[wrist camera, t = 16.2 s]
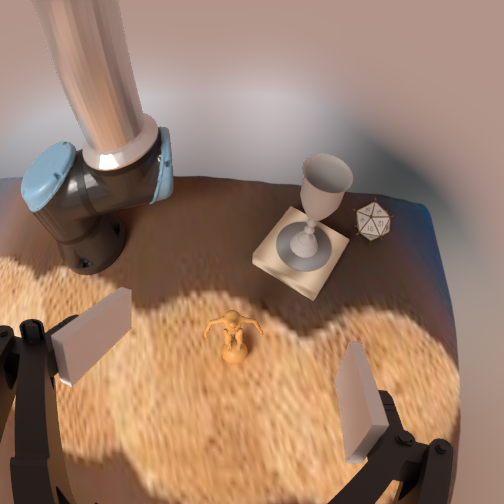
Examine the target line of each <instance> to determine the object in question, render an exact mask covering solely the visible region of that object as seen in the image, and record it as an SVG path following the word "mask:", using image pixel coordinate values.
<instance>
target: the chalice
mask: <svg viewBox="0 0 504 504" xmlns="http://www.w3.org/2000/svg"><path fill="white" fill-rule="evenodd" d="M302 169H303V174H304V179H303V184H302V188H301V193H300V195H301V200H302V205H303V208H304V210H305V213H306V215H307V217H308V218H309V219H308V220H307V224H308V225H306V226H305V228H304V230H305V231H301V232H299V233H297V234H296V235H294V236H293V237H292V239H291V241H290V247H291V249H292V251H293V252H294V253H295V254H296V255H298V256H299V257H303V258H307V257H311V256H313V255H314V254H315V253H316V252H317V249H318V244H317V240H316V237H315V236H314V235H313V233H314V231H315V229H314V227H315V226H316V224H317V223H316V221H320V220H322V219H324V218H326V217H328V216H329V215H330V214H332V213H333V212H334V211H335V210H336V209H338V207H339V205H340V202H341V200H342V198H343V195H344V193H345V191H346V190H347V189H349V188H350V187H351V185H352V183H353V175H352V172H351V170H350V168H349V167H348V165H347V164H346V163H344V162H343V161H342V160H340V159H339V158H337V157H335V156H332V155H328V154H316V155H312V156H310V157H309V158H307V159H306V160H305V162H304V163H303V168H302Z"/></svg>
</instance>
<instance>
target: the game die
mask: <svg viewBox="0 0 504 504" xmlns="http://www.w3.org/2000/svg"><path fill="white" fill-rule="evenodd" d="M376 201H377V199H376V197H375V199H374V202H372V203H371V204H369V205H365V206H364V207H363V208H361V209H359V210H356V209H353V211H355V212H356V220H357V225H355V226H354V227H357V228H358V231H359V232H357V234H356V235H359V234H362V235H363V236H364V237H366V238H367V239H369V240H370V245H371V244H372V240H375V239H377V238H379V237H380V239H381V240H382V236H383V235H385V234H387V233H390V234H392V232H391V231H390V219H391V218H393V217H394V216H393V215H391V216H390V215H389V214H388V213H387V212H388V211H389V209H386V210H385V209H384V208H383V207H381V206H380V205H379V204H378V203H377V202H376Z"/></svg>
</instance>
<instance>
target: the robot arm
mask: <svg viewBox="0 0 504 504" xmlns="http://www.w3.org/2000/svg"><path fill="white" fill-rule="evenodd" d="M32 2H33V5H34V9H35V12H36V16H37V19H38V22H39V25H40V28H41V31H42V34H43V37H44V40H45V43H46V46H47V48H48V52H49V54H50V57H51V60H52V62H53V65H54V67H55V70H56V73H57V75H58V77H59V80H60V82H61V85H62V87H63V89H64V92H65V95H66V97H67V99H68V101H69V104H70V106H71V108H72V111H73V113H74V115H75V117H76V119H77V121H78V124H79V125H80V128H81V130H82V132H83V134H84V136H85V138H86V141H85V143H84V146H83V149H81V150H79V151H76V148H75V147H74V146H73V145H72V144H71V143H67V142H60V143H57V144H55V145H53V146H51V147H49V148H48V149H46V150H45V151H44V152H42V153H41V154H40V155H39V156H38V157H37V158H36V159H35V161H33V163H32V164H31V165H30V167H29V168H28V170H27V172H26V173H25V175H24V178H23V180H22V184H21V193H22V196H23V198H24V200H25V202H26V203H27V205H28V207H29V209H30V210H31V211H32V212H33V214H34V215H35V216H36V217H37V219H38V220H39V221H40V222H41V223H42V225H43V226H44V227H45V228H46V229H47V230H48V232H49V233H50V234H51V235H52V236H53V237H54V238H55V240H56V241H57V244H58V248H59V251H60V254H61V257H62V259H63V261H64V262H65V263H66V265H67V266H68V267H69V268H70V269H71V270H72V271H74V272H76V273H78V274H81V275H91V274H95V273H98V272H101V271H103V270H104V269H106V268H107V267H109V266H110V265H111V264H112V263H113V262H114V261H115V260H116V259H117V257H118V256H119V255H120V253H121V251H122V249H123V246H124V243H125V238H126V232H125V227H124V225H123V223H122V221H121V219H120V218H119V216H118V215H117V214H116V213H115V212H116V211H120V210H124V209H129V208H133V207H138V206H142V205H147V204H153V203H154V202H156V201H160V200H163V199H167V198H168V197H170V196H171V194H172V193H173V186H174V185H173V168H172V155H171V143H170V134H169V130H168V128H166V127H158V126H157V124H156V122H155V120H154V119H153V118H152V117H151V116H149V115H147V114H144V113H143V112H142V108H141V104H140V100H139V96H138V92H137V88H136V84H135V80H134V75H133V71H132V67H131V62H130V58H129V53H128V49H127V44H126V39H125V34H124V29H123V24H122V18H121V13H120V7H119V2H118V0H32ZM131 294H132V290H130V289H126V288H123V287H120V288H119V289H117V290H116V291H114V292H113V293H111V294H110V295H108V296H107V297H106V298H104V299H103V300H101V301H100V302H98V303H97V304H95V305H94V306H92V307H91V308H89V309H88V310H87V311H85V312H84V313H82V314H81V315H77V314H76V315H73V316H70V317H68V318H66V319H65V320H63V321H62V322H60V323H59V324H58V325H56V326H55V327H53V328H52V329H50V330H49V331H47V332H46V333H45V332H44V326H43V323H42V322H41V321H39V320H36V319H28V320H25V321H23V322H22V323H21V324H20V326H19V327H20V332H21V336H22V338H20V337H16V336H14V332H13V329H12V328H11V327H10V326H5V325H2V326H0V442H1V438H2V435H3V431H4V428H5V425H6V422H7V418H8V415H9V412H10V409H11V406H12V404H13V401H14V398H15V395H16V401H15V457H11V459H10V471H11V482H12V491H13V498H14V504H76V502H75V499H74V497H73V495H72V492H71V489H70V485H69V481H68V477H67V472H66V467H65V462H64V457H63V451H62V445H61V438H60V431H59V422H58V413H57V401H56V385H55V378H54V375H56V374H57V373H59V377H60V381H62V382H64V383H65V384H67V385H69V386H71V387H72V386H73V385H74V384H75V383H76V382H77V381H78V380H79V379H80V378H81V377H82V376H83V375H84V374H85V373H86V372H87V371H88V370H89V369H90V368H91V367H92V366H93V365H94V364H95V363H96V362H97V361H98V360H99V359H100V358H101V357H102V356H103V355H104V354H105V353H106V352H107V351H108V350H109V349H111V348H112V347H113V346H114V345H115V344H116V343H117V342H118V341H119V340H120V339H121V338H122V337H123V336H124V335H125V334H126V333H127V332H128V331H129V330H130V329H131ZM335 385H336V391H337V397H338V404H339V411H340V418H341V425H342V433H343V441H344V449H345V458H346V463H362V462H363V461H364V459H365V458H366V457H367V458H368V462H367V463H366V464H365V465H364V466H363V468H362V469H361V470H360V471H359V472H358V473H357V474H356V475H355V476H354V477H353V479H352V480H351V481H350V482H349V483H348V484H347V485H346V486H345V487H344V488H343V489H342V490H341V491H340V492H339V493H338V494H337V495H336V496H335V497H334V498H333V499H332V500H331V501H330V502H329V503H327V504H375V503H376V501H377V500H378V499H379V498H380V496H381V495H382V494H383V492H384V491H385V490H386V488H387V487H388V486H389V484H390V483H391V481H392V480H396V481H400V483H399V487H398V490H397V493H396V495H395V498H394V501H393V504H447V499H448V493H449V486H450V479H451V471H452V461H453V447H452V446H451V444H450V443H449V442H448V441H446V440H444V439H439V438H438V439H434V440H433V441H432V442H431V443H430V444H429V445H427V444H423V443H418V442H415V438H414V437H413V435H412V434H411V433H409V432H408V431H405V430H403V427H402V424H401V421H400V418H399V415H398V412H397V411H396V407H395V406H394V405H395V404H394V401H393V399H392V397H391V396H390V394H389V393H388V392H387V391H383V390H378V389H377V386H376V383H375V380H374V377H373V374H372V371H371V368H370V365H369V363H368V360H367V357H366V354H365V351H364V349H363V346H362V343H356V342H349V344H348V347H347V349H346V352H345V354H344V357H343V359H342V362H341V364H340V367H339V369H338V371H337V374H336V376H335ZM95 504H98V503H95Z"/></svg>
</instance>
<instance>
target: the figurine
mask: <svg viewBox="0 0 504 504" xmlns="http://www.w3.org/2000/svg"><path fill="white" fill-rule="evenodd" d="M243 322H247V323H254V324H255V326H256V328H257V329H258V330H259V331H260V335H261V337H262V336H263V331H262V330H261V327H260V326H259V325H258V322H257V321H256V320H255V319H251V318H246V317H244V316H241V315H240V314H239V313H238V312H237V311H235V310H230V311H228V312H227V313H226V314H225V316H223V317H221V318H219V319H215V320H211V321H209V323H208V326H207V328H206V330H205V332H204V338H206V337H207V333H208V331H209V330H210V327H211V325H212V324H218V323H223V324H224V325H225V327H226V329H224V330H223V332H224V339H225V344H224V346H223V348H222V355H223V358H224V359H225V360H226V361H227V362H228V363H230V364H239V363H241V362H243V361H244V360H245V359H246V357H247V354H248V350H247V347H246V345H245V344H244V343H243V329H242V328H240V327H241V324H242V323H243ZM231 334H236V335H235V338H236V339H232V335H231ZM260 335H259V336H260ZM207 338H208V337H207Z"/></svg>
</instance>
